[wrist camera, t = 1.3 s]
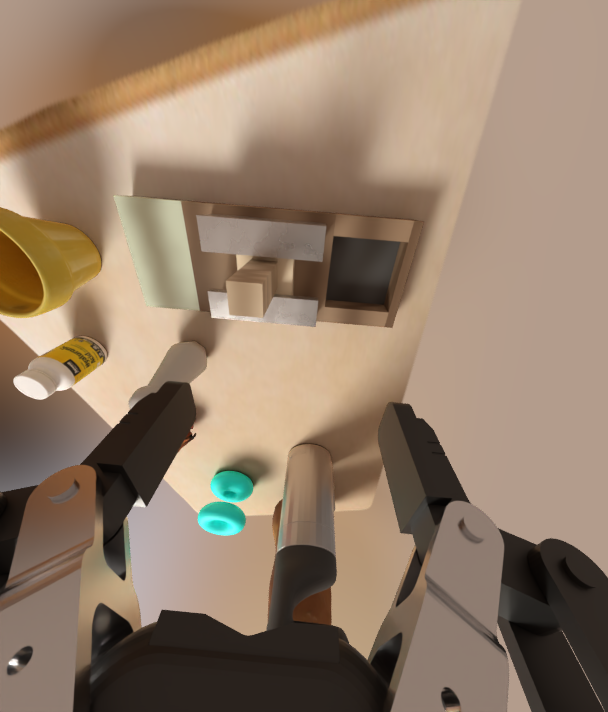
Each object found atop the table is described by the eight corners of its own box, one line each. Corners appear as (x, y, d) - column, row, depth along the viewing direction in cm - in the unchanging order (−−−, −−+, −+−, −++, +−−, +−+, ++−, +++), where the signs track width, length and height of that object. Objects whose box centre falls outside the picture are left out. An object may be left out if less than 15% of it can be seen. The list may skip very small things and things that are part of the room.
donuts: (214, 540, 53) (185, 519, 49) (228, 494, 62) (204, 473, 57) (252, 534, 51) (225, 512, 46) (262, 487, 59) (239, 464, 54)
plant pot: (48, 181, 27) (-71, 172, 19) (132, 259, 31) (64, 279, 23) (16, 243, 31) (-95, 258, 22) (94, 305, 35) (25, 336, 27)
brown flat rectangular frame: (414, 219, 27) (424, 221, 24) (386, 318, 33) (392, 327, 31) (132, 196, 27) (113, 195, 25) (159, 298, 34) (146, 306, 31)
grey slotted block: (325, 223, 25) (326, 226, 22) (315, 314, 30) (315, 326, 27) (211, 213, 25) (196, 215, 22) (222, 306, 31) (211, 317, 28)
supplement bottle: (115, 353, 39) (60, 393, 31) (98, 368, 41) (43, 409, 33) (83, 328, 37) (15, 364, 29) (67, 345, 39) (-1, 384, 31)
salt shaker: (186, 328, 36) (129, 383, 25) (219, 351, 38) (178, 411, 27) (169, 351, 38) (110, 411, 28) (200, 372, 40) (156, 435, 30)
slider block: (295, 243, 26) (283, 263, 17) (293, 296, 29) (281, 336, 21) (241, 238, 26) (201, 256, 17) (244, 292, 29) (212, 330, 21)
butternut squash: (288, 510, 65) (273, 659, 44) (268, 484, 58) (240, 643, 37) (338, 505, 62) (348, 661, 41) (323, 476, 55) (326, 645, 34)
